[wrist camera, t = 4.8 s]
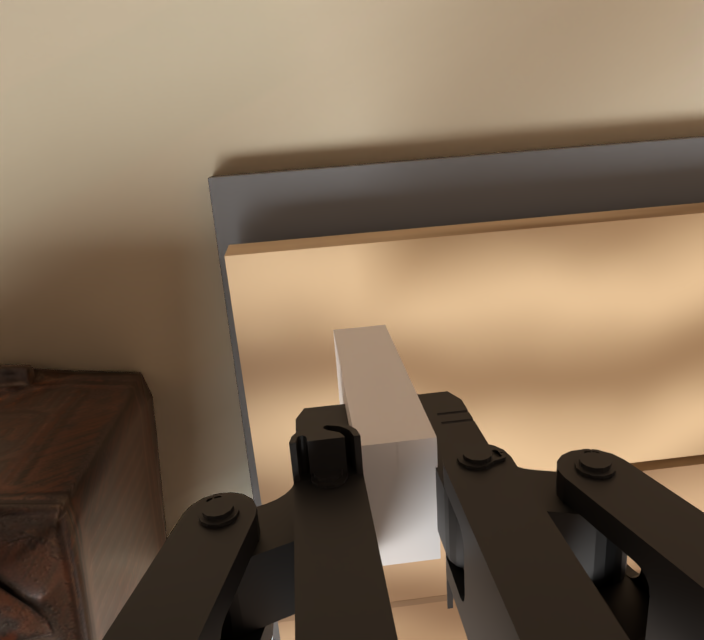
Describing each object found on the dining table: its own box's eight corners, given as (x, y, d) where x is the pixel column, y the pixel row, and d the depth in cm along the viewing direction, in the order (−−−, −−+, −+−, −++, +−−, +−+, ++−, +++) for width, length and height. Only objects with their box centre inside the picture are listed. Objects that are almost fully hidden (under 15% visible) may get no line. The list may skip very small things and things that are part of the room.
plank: (228, 244, 21) (224, 256, 20) (772, 196, 22) (804, 203, 21) (263, 482, 25) (261, 506, 23) (729, 428, 26) (753, 448, 25)
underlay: (211, 176, 22) (207, 178, 21) (758, 131, 24) (777, 131, 23) (285, 701, 30) (284, 719, 29) (697, 644, 31) (710, 660, 30)
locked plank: (265, 493, 25) (263, 515, 24) (727, 440, 26) (752, 458, 25) (290, 682, 28) (290, 711, 27) (704, 625, 29) (726, 651, 28)
